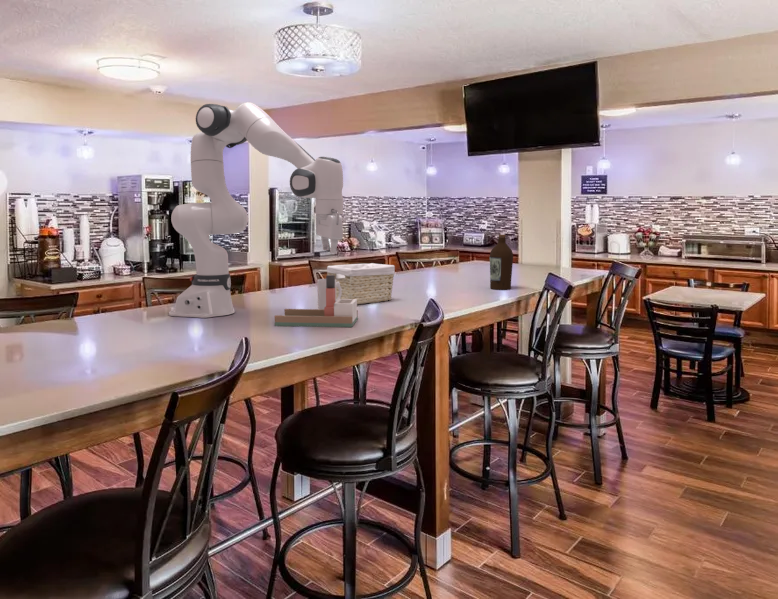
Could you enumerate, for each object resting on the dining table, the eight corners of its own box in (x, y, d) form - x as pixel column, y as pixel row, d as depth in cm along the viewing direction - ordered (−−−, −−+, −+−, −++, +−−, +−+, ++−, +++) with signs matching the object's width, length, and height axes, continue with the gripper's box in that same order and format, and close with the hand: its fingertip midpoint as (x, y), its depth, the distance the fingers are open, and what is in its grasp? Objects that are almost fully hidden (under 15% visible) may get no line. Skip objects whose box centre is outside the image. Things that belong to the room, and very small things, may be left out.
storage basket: (371, 296, 266) (371, 261, 264) (396, 301, 254) (396, 264, 252) (325, 302, 250) (324, 265, 248) (350, 307, 238) (349, 268, 236)
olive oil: (500, 286, 298) (501, 233, 294) (516, 289, 289) (518, 234, 285) (484, 288, 292) (485, 234, 288) (500, 290, 283) (502, 235, 279)
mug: (325, 315, 220) (325, 281, 218) (313, 313, 225) (313, 279, 223) (347, 312, 227) (347, 279, 225) (335, 309, 232) (335, 277, 230)
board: (274, 325, 201) (274, 303, 200) (285, 318, 215) (285, 297, 214) (351, 327, 199) (351, 304, 198) (357, 319, 213) (357, 298, 212)
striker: (324, 319, 203) (323, 276, 201) (328, 315, 210) (327, 274, 208) (333, 319, 203) (333, 276, 201) (337, 316, 210) (336, 274, 207)
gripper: (347, 209, 192) (347, 254, 194) (330, 207, 211) (331, 248, 213) (327, 209, 190) (328, 255, 192) (312, 207, 209) (312, 249, 211)
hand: (329, 251), depth 203 cm, fingers open, 8 cm apart
